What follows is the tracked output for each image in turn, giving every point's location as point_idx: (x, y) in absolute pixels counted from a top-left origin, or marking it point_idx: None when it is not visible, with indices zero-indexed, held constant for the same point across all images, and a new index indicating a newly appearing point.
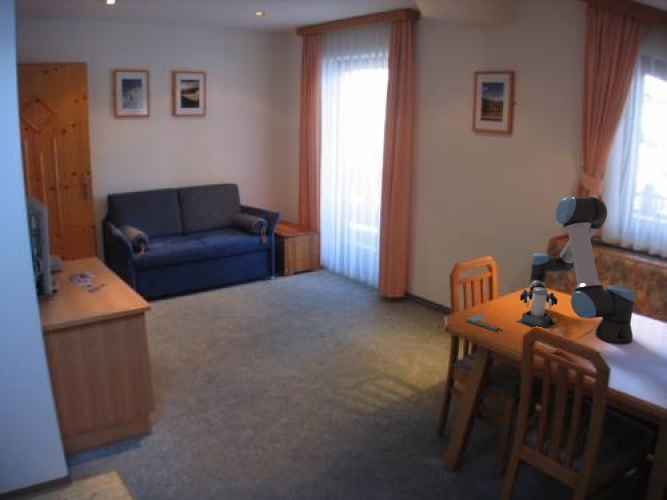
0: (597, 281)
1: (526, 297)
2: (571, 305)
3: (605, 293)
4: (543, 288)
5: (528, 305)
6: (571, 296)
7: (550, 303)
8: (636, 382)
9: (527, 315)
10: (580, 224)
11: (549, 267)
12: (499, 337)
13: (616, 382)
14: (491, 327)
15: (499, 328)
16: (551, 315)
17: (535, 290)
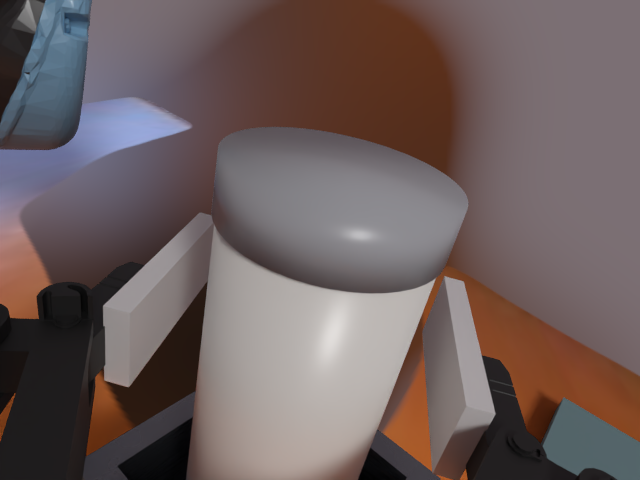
0: None
1: (498, 436)
2: (80, 101)
3: None
4: (270, 177)
5: (428, 321)
6: (89, 7)
7: (211, 217)
8: (108, 123)
9: (387, 438)
10: None
11: None
12: (510, 342)
13: (166, 132)
14: (602, 421)
15: (551, 424)
16: (90, 457)
17: (425, 165)
